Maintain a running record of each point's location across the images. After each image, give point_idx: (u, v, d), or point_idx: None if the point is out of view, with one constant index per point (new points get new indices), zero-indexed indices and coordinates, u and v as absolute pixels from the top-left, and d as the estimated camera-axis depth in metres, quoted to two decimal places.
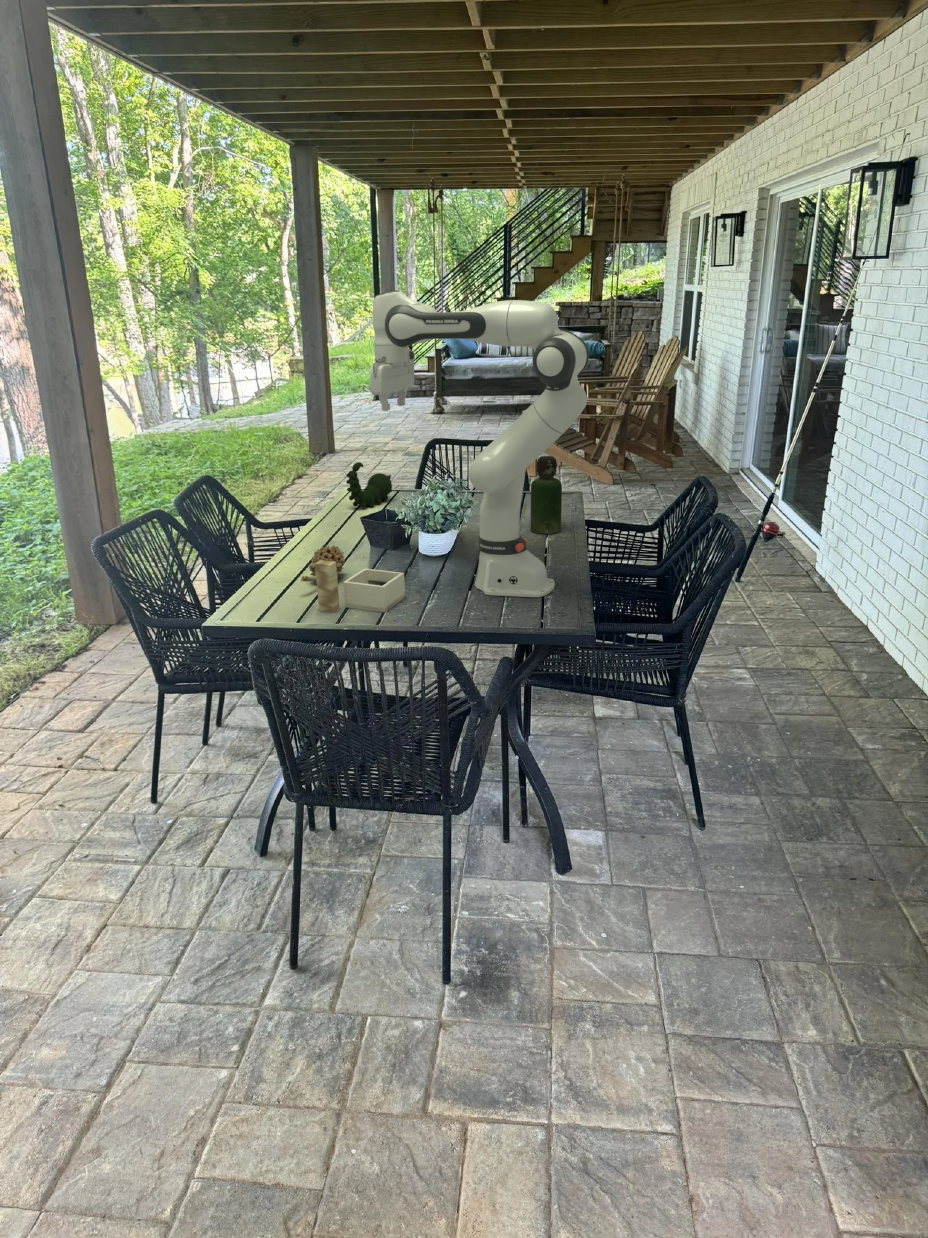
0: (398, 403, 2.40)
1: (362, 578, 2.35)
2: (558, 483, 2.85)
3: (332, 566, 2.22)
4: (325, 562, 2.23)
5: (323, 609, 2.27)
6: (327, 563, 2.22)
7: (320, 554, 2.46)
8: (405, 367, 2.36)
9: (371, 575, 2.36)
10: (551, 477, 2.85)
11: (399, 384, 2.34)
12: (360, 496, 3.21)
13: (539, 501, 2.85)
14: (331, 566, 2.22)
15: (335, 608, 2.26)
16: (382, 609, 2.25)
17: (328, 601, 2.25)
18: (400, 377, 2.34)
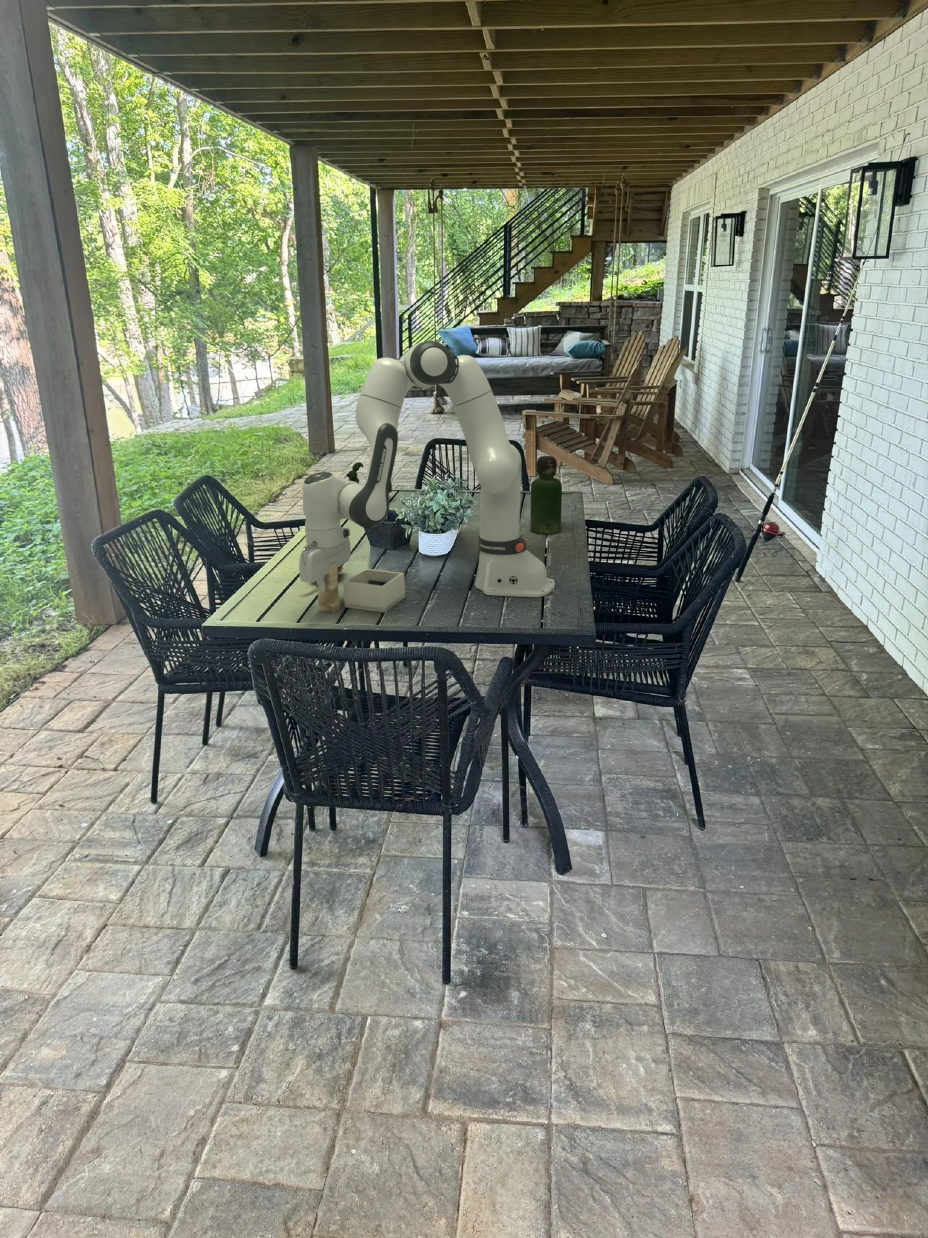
0: None
1: (362, 578, 2.35)
2: (558, 483, 2.85)
3: (332, 566, 2.22)
4: None
5: (323, 609, 2.27)
6: None
7: None
8: (339, 545, 2.25)
9: (371, 575, 2.36)
10: (551, 477, 2.85)
11: None
12: None
13: (539, 501, 2.85)
14: (331, 566, 2.22)
15: (335, 608, 2.26)
16: (382, 609, 2.25)
17: (328, 601, 2.25)
18: (333, 557, 2.23)
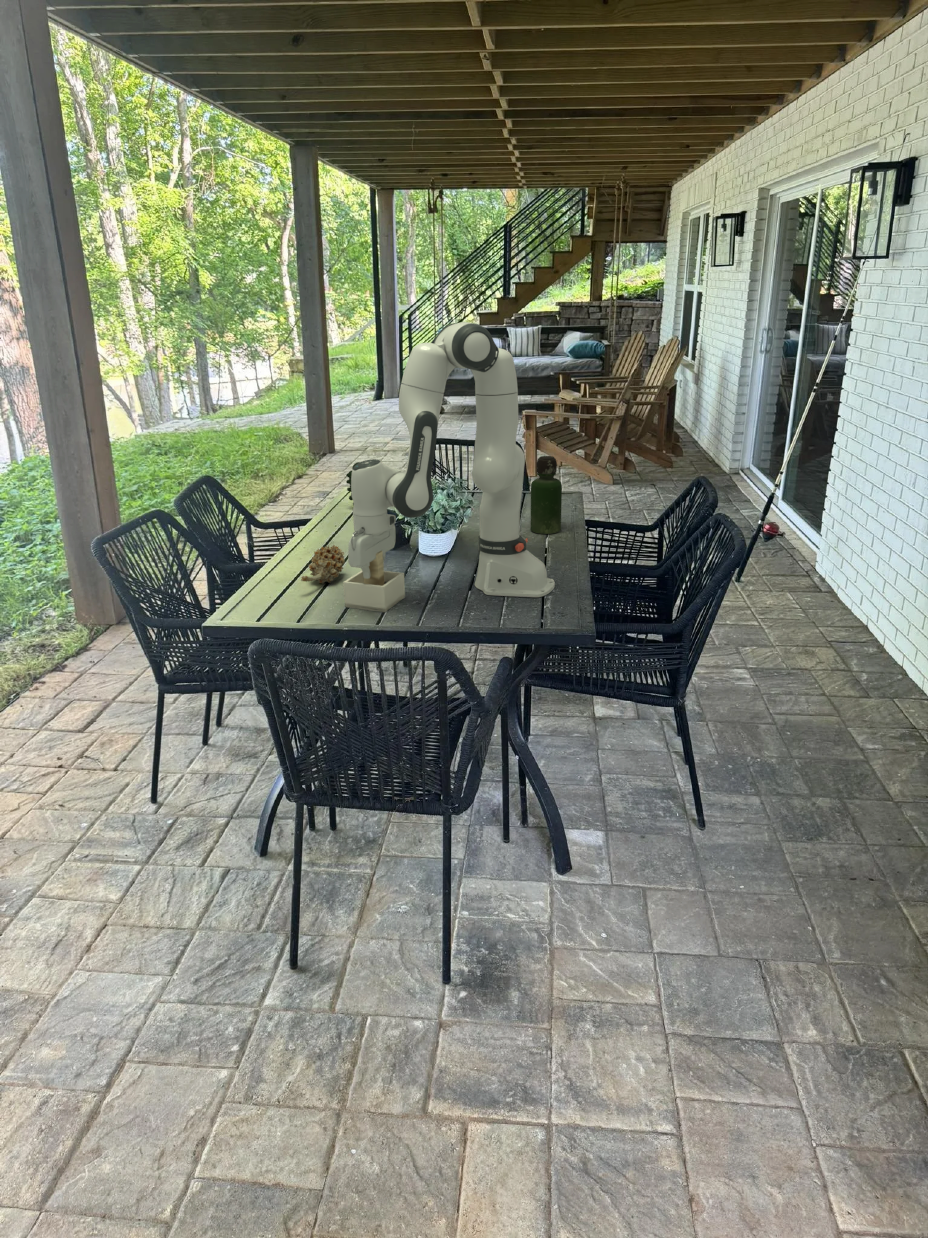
0: None
1: (362, 578, 2.35)
2: (558, 483, 2.85)
3: (379, 554, 2.26)
4: None
5: None
6: None
7: (320, 554, 2.46)
8: (385, 532, 2.29)
9: None
10: (551, 477, 2.85)
11: (379, 551, 2.27)
12: None
13: (539, 501, 2.85)
14: (378, 555, 2.26)
15: None
16: (382, 609, 2.25)
17: None
18: (380, 543, 2.27)
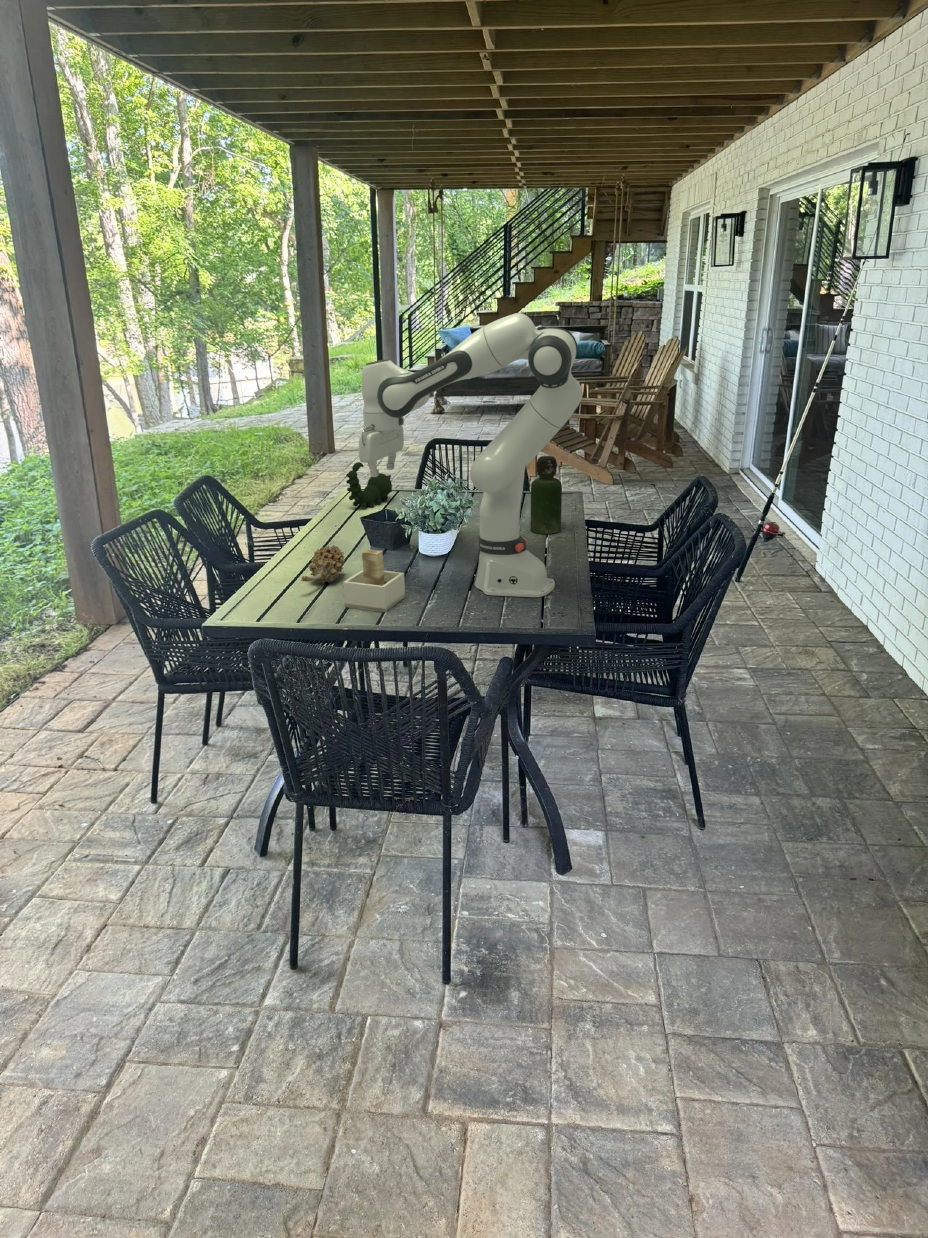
0: (387, 467, 2.41)
1: (362, 578, 2.35)
2: (558, 483, 2.85)
3: (379, 554, 2.26)
4: (372, 551, 2.27)
5: None
6: (374, 552, 2.26)
7: (320, 554, 2.46)
8: (394, 432, 2.38)
9: None
10: (551, 477, 2.85)
11: (388, 450, 2.36)
12: (360, 496, 3.21)
13: (539, 501, 2.85)
14: (378, 555, 2.26)
15: None
16: (382, 609, 2.25)
17: None
18: (389, 443, 2.35)
